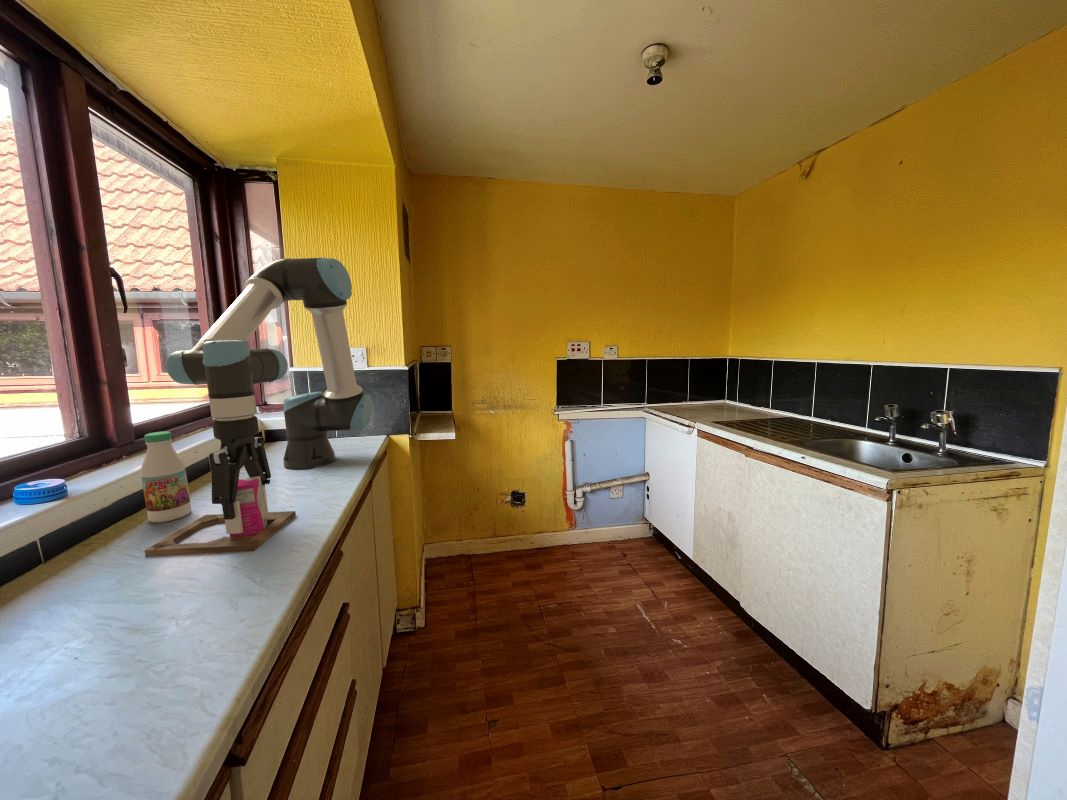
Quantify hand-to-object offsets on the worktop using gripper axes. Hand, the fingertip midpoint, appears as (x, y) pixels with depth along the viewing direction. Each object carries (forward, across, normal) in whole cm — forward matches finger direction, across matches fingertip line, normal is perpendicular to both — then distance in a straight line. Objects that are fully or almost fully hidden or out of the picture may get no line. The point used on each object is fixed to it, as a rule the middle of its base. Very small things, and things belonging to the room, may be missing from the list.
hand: (248, 522), depth 88 cm
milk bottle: (+2, -11, -24) cm, 27 cm away
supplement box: (+2, 0, 0) cm, 2 cm away
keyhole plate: (+2, 0, -4) cm, 5 cm away
